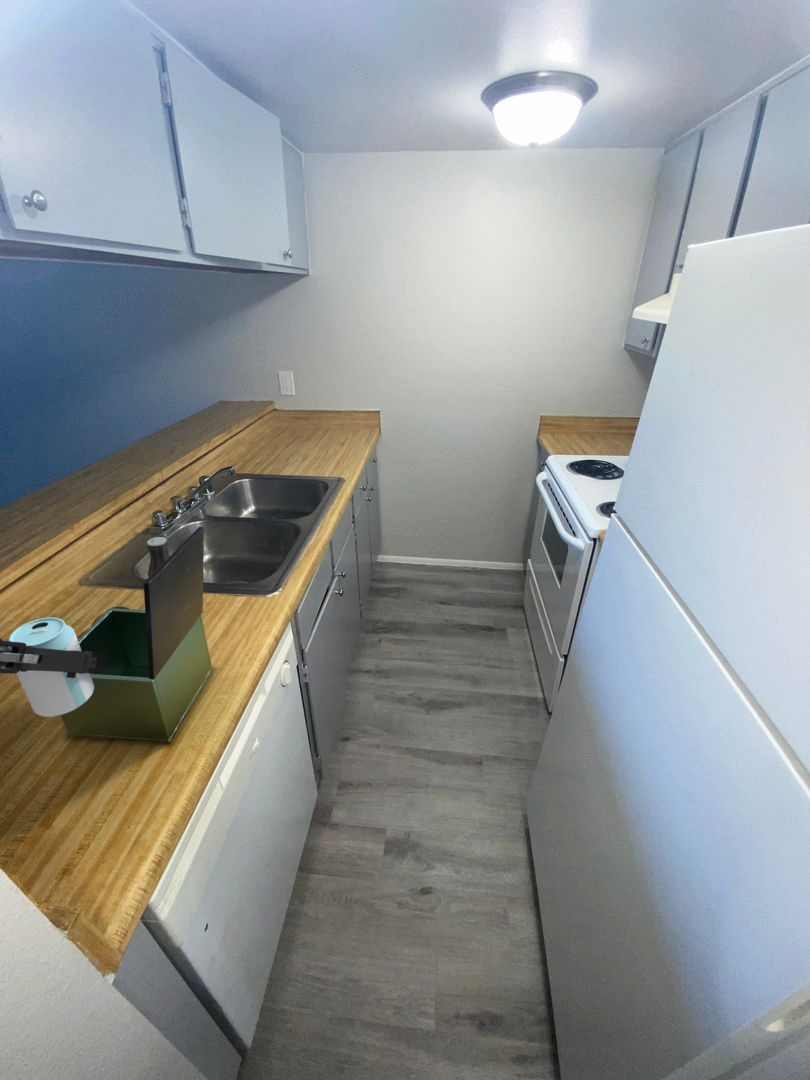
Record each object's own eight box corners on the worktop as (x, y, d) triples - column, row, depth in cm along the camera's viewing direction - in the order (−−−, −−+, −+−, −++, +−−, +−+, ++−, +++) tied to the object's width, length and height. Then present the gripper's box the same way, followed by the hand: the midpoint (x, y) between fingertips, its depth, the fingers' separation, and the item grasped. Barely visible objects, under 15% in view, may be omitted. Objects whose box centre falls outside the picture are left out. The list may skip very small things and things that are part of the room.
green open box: (69, 736, 81) (42, 674, 74) (128, 664, 96) (110, 607, 90) (170, 743, 80) (152, 681, 73) (212, 670, 96) (201, 613, 89)
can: (22, 708, 63) (-11, 638, 58) (74, 674, 69) (48, 608, 63) (55, 728, 61) (24, 657, 55) (106, 691, 66) (83, 623, 61)
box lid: (143, 582, 65) (148, 583, 65) (199, 526, 80) (204, 527, 80) (148, 679, 73) (154, 680, 73) (198, 611, 89) (202, 612, 89)
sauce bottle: (154, 612, 112) (135, 538, 102) (181, 602, 115) (165, 530, 106) (163, 626, 107) (144, 550, 98) (191, 615, 111) (175, 541, 102)
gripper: (25, 617, 45) (150, 639, 67) (-176, 603, 46) (14, 629, 67) (-1, 700, 43) (138, 694, 65) (-211, 684, 43) (-3, 684, 65)
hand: (75, 661), depth 66 cm, fingers closed on can, 7 cm apart
